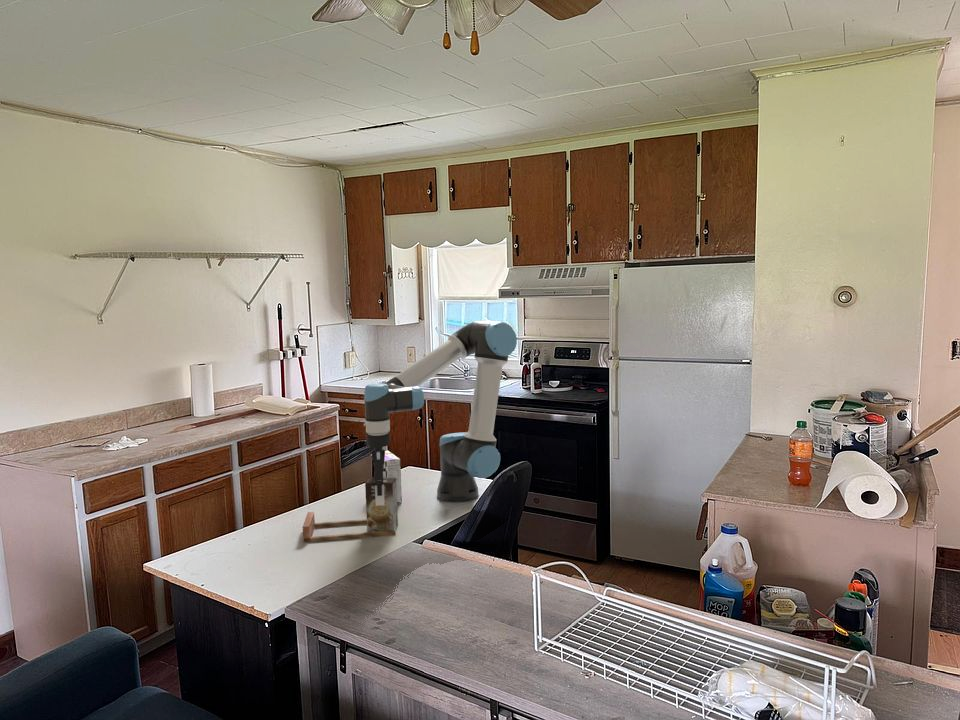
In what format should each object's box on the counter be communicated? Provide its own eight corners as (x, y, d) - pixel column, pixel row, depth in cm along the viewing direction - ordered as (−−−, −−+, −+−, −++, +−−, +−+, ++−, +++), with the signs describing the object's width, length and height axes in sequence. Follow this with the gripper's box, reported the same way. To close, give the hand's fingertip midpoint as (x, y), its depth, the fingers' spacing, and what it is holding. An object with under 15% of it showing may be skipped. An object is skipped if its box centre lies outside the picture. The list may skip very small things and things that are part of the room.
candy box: (375, 495, 251) (373, 452, 249) (391, 492, 253) (389, 449, 251) (386, 505, 238) (384, 460, 236) (402, 503, 241) (400, 458, 239)
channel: (395, 520, 223) (394, 505, 222) (395, 535, 210) (394, 519, 209) (308, 527, 219) (307, 512, 219) (303, 542, 206) (302, 526, 206)
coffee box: (366, 532, 213) (363, 482, 211) (371, 525, 220) (368, 477, 218) (394, 532, 212) (392, 482, 210) (399, 525, 219) (396, 476, 217)
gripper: (367, 425, 224) (369, 487, 226) (364, 442, 200) (367, 511, 202) (389, 424, 225) (392, 486, 227) (390, 441, 201) (392, 510, 203)
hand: (380, 498), depth 215 cm, fingers open, 13 cm apart
